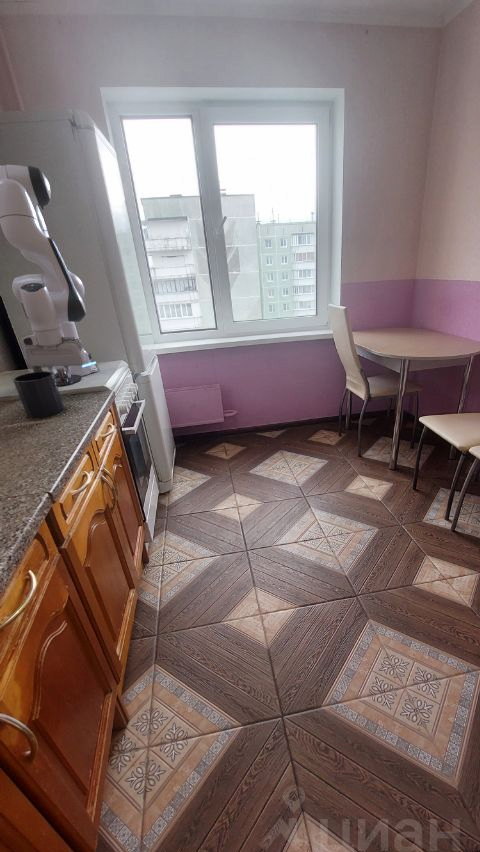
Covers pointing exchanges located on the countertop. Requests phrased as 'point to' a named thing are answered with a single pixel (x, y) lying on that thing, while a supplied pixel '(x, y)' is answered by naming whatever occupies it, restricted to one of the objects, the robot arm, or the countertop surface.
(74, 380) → the lid
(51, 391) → the canister
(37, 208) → the robot arm
